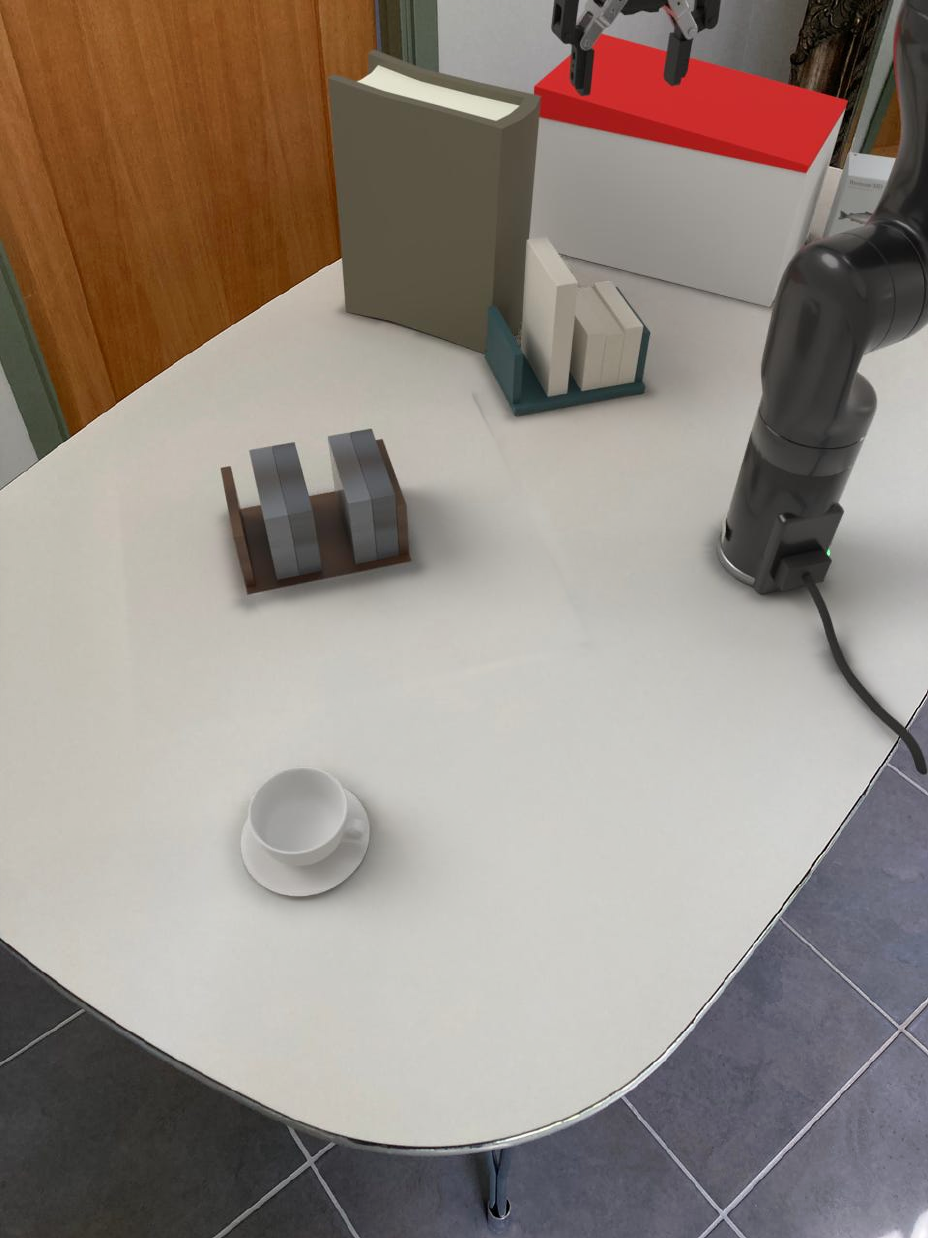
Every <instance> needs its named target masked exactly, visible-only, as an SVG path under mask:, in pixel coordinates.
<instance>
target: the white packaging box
mask: <svg viewBox="0 0 928 1238" xmlns="http://www.w3.org/2000/svg"><path fill="white" fill-rule="evenodd" d="M895 159H896V157H890V156H889V157H888V156H881V155H876V154H875V155H874V154H869V153H868V154H867V153H861V152H852V151H848V152H847V155H846V159H845V162H844V165H843V168H842V171H841V175H840V178H839V181H838V184H837V187H836V190H835V195H834V197H833V201H832V204H831V206H830V211H829V214H828V217H827V220H826V223H825V227H824V230H823V233H822V238H821V239H823V238H826V237H829V236H833V235H835V234H839V233H842V232H845V231H848V230H851V229H855V228H858V227H861V226H864V225H865V224H866V223H867V222H868V220H869V219H870V217H871V216H872V214H873V212H874V210H875V208H876V206H877V204H878V202H879V200H880V198H881V196H882V194H883V191H884V189H885V186H886V184H887V181H888V179H889V176H890V173H891V171H892V168H893V165H894V162H895Z"/></svg>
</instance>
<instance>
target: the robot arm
mask: <svg viewBox="0 0 928 1238" xmlns="http://www.w3.org/2000/svg"><path fill="white" fill-rule="evenodd" d="M579 3H580V0H553V8H552V17H551V23H550V24H551V25H550V29H551V32H552V33H553V34H554V35H555V36H556V37H557V38H558V39H559V40H560V42H561V43H563V44H564V45H570V46H571V49H570V50H571V51H570V55H571V62H570V74H569V78H570V82H571V84H572V85H573V86H574V87H575V90H576V91H577V92H578V93H579V94H580V95H581V96H587V95H590V93H591V83H592V73H593V62H594V52H595V50H594V49H593V48H592V46H593V45H594V43H595V42H596V40H597V39H598V38H599V36H600V35H601V34H603V32H604V31H605V30H606V29H607V28H609V27H610V26H611V25H612V24H613V23H614V21H615V20H616V19H617V17H618V16H619V15H620V13H621V14H622V15H623V16H632V15H635V14H638V13H640V12H646V13H650V14H651V13H659V12H660V9H663V10H664V11H665V13H666V15H667V17H668V19H669V21H670V23H671V25H672V27H673V32H669V35H668V41H667V48H666V51H667V54H666V61H665V68H664V80H665V81H666V82H667V83H668V84H669V85H670V86H677V85H680V83H681V78H684V77H685V75H686V73H687V71H688V66H689V58H691V54H692V46H693V41H694V38H695V37H696V36H697V35H698V34H699V33H700V32H702V31H704V30H706V29H707V30H713V29H715V28H716V27H717V25H718V23H719V17H720V9H721V3H722V0H694V2H693V3H694V4H693V10H692V11H691V10H690V9H691V8H690V5H689V4H688V3H689V2H688V1H687V0H586V2H585V4H584V10H583V11H582V13H581V15H580V16H579V18H578V12H579ZM895 19H896V20H895V23H894V30H893V36H892V37H893V38H892V39H893V40H892V53H893V54H892V58H893V69H894V71H893V73H894V80H895V88H896V94H897V95H896V96H897V100H898V106H899V107H898V108H899V116H900V135H899V136H900V137H899V143H898V149H897V153H896V156H895V158H896V159H895V162H894V165H893V168H892V171H891V173H890V176H889V179H888V181H887V184H886V186H885V189H884V191H883V194H882V196H881V198H880V200H879V202H878V204H877V206H876V208H875V210H874V212H873V214H872V216H871V217H870V219H869V220H868V222H867V223H866V224H865V225H864V226H861V227H858V228H855V229H851V230H848V231H845V232H842V233H839V234H835V235H833V236H829V237H826V238H823V239H822V238H820V239H817V240H815V241H811V242H810V243H808V244H805V245H803V247H802V248H801V249H800V250H799V251H798V252H797V253H796V254H795V255H794V256H793V258H792V259H791V260H790V262H789V263H788V265H787V267H786V269H785V271H784V273H783V275H782V278H781V280H780V283H779V286H778V290H777V293H776V297H775V298H774V300H773V306H772V311H771V316H770V319H769V325H768V330H767V334H766V339H765V343H764V347H763V352H762V356H761V363H760V382H761V396H760V399H759V400H760V401H759V403H758V407H757V410H756V414H755V418H754V421H753V425H752V427H751V431H750V433H749V436H748V437H749V438H748V440H747V444H746V447H745V448H746V449H745V451H744V454H743V455H744V456H743V459H742V461H741V465H740V468H739V472H738V475H737V479H736V482H735V486H734V490H733V493H732V497H731V500H730V503H729V507H728V510H725V511H724V514H723V518H722V522H721V523H722V524H721V525H722V526H721V527H722V530H721V533H720V535H719V537H718V542H717V547H716V549H717V550H716V552H717V556H718V559H719V560H720V563H721V565H722V566H723V567H724V568H725V570H726V571H727V572H728V573H729V574H731V576H733V577H734V578H735V579H737V580H739V581H741V582H743V583H744V584H746V585H749V586H751V587H752V588H754V590H755V592H756V593H757V594H759V595H763V594H767V593H773V592H777V591H781V592H783V591H784V592H785V591H787V590H792V589H797V588H801V587H805V586H806V588H807V590H808V592H809V594H810V596H811V598H812V600H813V603H814V604H815V607H816V609H817V612H818V614H819V617H820V619H821V623H822V627H823V630H824V633H825V636H826V640H827V642H828V645H829V648H830V651H831V654H832V656H833V659H834V661H835V663H836V665H837V668H838V669H839V671H840V673H841V674H842V676H843V678H844V679H845V681H846V682H847V683H848V685H849V686H850V687H851V688H852V690H853V691H854V692H855V693H856V695H857V696H858V697H859V698H860V699H861V700H862V701H863V702H864V703H865V705H866V706H867V707H868V708H869V710H870V711H871V712H872V713H873V714H874V715H875V716H876V717H877V718H878V719H879V720H880V721H881V722H882V723H884V724H885V725H886V726H887V727H888V728H889V729H891V730H892V731H893V732H894V733H895V734H896V735H897V736H898V737H899V738H900V739H901V740H902V741H903V743H904V744H905V745H906V747H907V749H908V750H909V752H910V755H911V757H912V759H913V762H914V766H915V769H916V772H918V774H920V775H923V776H926V775H927V774H928V767H927V762H926V759H925V756H924V754H923V753H924V752H923V751H922V749H921V747H920V744H919V743H918V741H917V740H916V738H915V737H914V736H913V735H912V733H910V732H909V730H908V729H907V728H906V727H905V726H904V725H902V724H901V722H899V721H898V720H897V719H896V718H894V716H892V715H891V714H890V713H889V712H888V711H887V710H885V708H884V707H882V706H881V704H879V702H878V701H877V700H876V699H875V698H874V697H873V695H872V694H871V693H870V692H869V691H868V689H867V688H866V687H865V686H864V685H863V684H862V682H860V681H859V679H858V678H857V676H856V675H855V673H854V672H853V670H852V669H851V667H850V665H849V664H848V662H847V660H846V658H845V656H844V654H843V651H842V648H841V646H840V643H839V640H838V637H837V635H836V631H835V627H834V624H833V620H832V617H831V615H830V611H829V609H828V606H827V605H826V602H825V600H824V597H823V596H822V594H821V592H820V589H819V588H818V586H817V584H819V583H823V582H824V580H825V578H826V576H827V574H828V571H829V569H830V566H831V564H832V562H833V561H832V558H831V557H830V554H831V551H830V547H831V545H832V542H833V540H834V538H835V535H836V534H837V533H836V532H837V530H838V528H839V525H840V523H841V521H842V518H843V517H844V514H845V509H844V507H842V505H841V503H840V501H841V498H842V496H843V494H844V491H845V489H846V486H847V483H848V481H849V479H850V476H851V474H852V471H853V469H854V466H855V464H856V461H857V459H858V457H859V454H860V452H861V449H862V447H863V444H864V442H865V439H866V437H867V434H868V432H869V431H870V428H871V425H872V422H873V420H874V418H875V415H876V412H877V409H878V396H877V393H876V390H875V388H874V386H873V385H872V384H871V382H870V381H869V380H868V379H867V378H866V377H865V376H864V375H863V374H861V373H859V372H858V370H859V366H860V364H861V362H862V359H863V358H864V356H866V355H868V354H871V353H873V352H876V351H880V350H882V349H885V348H888V347H890V346H893V345H895V344H898V343H900V342H903V341H904V340H908V339H909V338H911V337H913V336H914V335H917V333H918V332H920V331H921V330H922V329H923V328H925V327H926V326H927V325H928V0H901V2H900V5H899V8H898V11H897V14H896V18H895ZM907 731H908V732H907Z"/></svg>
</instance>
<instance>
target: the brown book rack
mask: <svg viewBox="0 0 928 1238" xmlns="http://www.w3.org/2000/svg"><path fill="white" fill-rule="evenodd" d="M327 442H328V451H329V458H330V466H331V473H332V480H333V487H334V488H333V489H334V491H329V492H323V493H318V494H312V495H309V491H308V487H307V484H306V480H305V476H304V472H303V468H302V464H301V460H300V457H299V453H298V450H297V446H296V442H295V441H292V442H287V443H281V444H275V445H272V446H270V445H269V446H264V447H257V448H253V449H252V448H251V449H249V450H248V452H249V457H250V462H251V466H252V471H253V475H254V480H255V484H256V489H257V494H258V498H259V504H258V505H253V506H249V507H244V508H243V507H242V508H241V503H240V499H239V495H238V491H237V487H236V482H235V478H234V473H233V469H232V466H231V465H228V466H222V467H220V474H221V478H222V485H223V490H224V494H225V501H226V506H227V507H226V508H227V510H228V518H229V524H230V528H231V533H232V534H231V535H232V539H233V542H234V543H233V544H234V548H235V551H236V554H237V559H238V563H239V567H240V569H241V574H242V578H243V582H244V586H245V590H246V591H245V592H246V595H253V594H257V593H262V592H263V593H264V592H267V591H273V590H277V589H282V588H287V587H292V586H297V585H302V584H306V583H310V582H312V583H313V582H317V581H323V580H327V579H331V578H336V577H343V576H346V575H352V574H356V573H362V572H366V571H372V570H375V569H381V568H385V567H386V568H387V567H390V566H395V565H400V564H406V563H411V562H412V561H413V560H412V558H411V554H410V541H409V523H408V508H407V507H408V506H407V502H406V500H405V497H404V493H403V491H402V489H401V486H400V482H399V480H398V478H397V475H396V472H395V470H394V466H393V464H392V461H391V457H390V455H389V452H388V450H387V447H386V444H385V441H384V439H383V438H379V439H376V437H375V433H374V431H373V428H366V429H361V430H355V431H350V432H344V433H339V434H331V435H328V436H327Z"/></svg>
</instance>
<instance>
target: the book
mask: <svg viewBox="0 0 928 1238" xmlns="http://www.w3.org/2000/svg"><path fill="white" fill-rule="evenodd" d="M367 63H368V64H367V65H368V66H367V67H368V74H367V75H366V76H364V77H363V78H362V79H359V80H353V79H350V78H348V77H344V76H342V75H339V74H337V73H334V74H332V75H331V76H329V77H328V78H327V82H328V84H327V85H328V95H329V109H330V121H331V133H332V134H331V135H332V137H331V138H332V148H333V150H332V151H333V161H334V175H335V188H336V201H337V213H338V214H337V215H338V226H339V238H340V254H341V265H342V267H341V268H342V278H343V292H344V305H345V313H348V314H349V313H350V314H354V315H359V316H364V317H369V318H375V319H379V320H385V321H389V322H392V323H394V324H398V325H402V326H404V327H407V328H410V329H413V330H416V331H419V332H422V333H425V334H428V335H431V336H434V337H437V338H440V339H443V340H446V341H449V342H450V343H454V344H457V345H459V346H462V347H465V348H467V349H470V350H473V351H476V352H478V353H481V354H483V355H485V351H486V350H487V338H488V307H490V306H497V308H498V310H499V312H500V313H501V315H502V317H503V319H504V320H505V322H506V324H507V326H508V328H509V329H510V331H511V333H512V335H513V336H514V337H515V336H516V335H517V333H518V332H519V330H520V326H521V325H522V315H523V297H524V278H525V260H526V242H527V240H528V239H529V234H530V222H531V210H532V198H533V186H534V174H535V162H536V150H537V139H538V127H539V115H540V103H541V96H539V95H535V94H534V93H530V92H525V91H520V90H516V89H510V88H507V87H502V86H497V85H494V84H490V83H485V82H479V81H475V80H471V79H468V78H463V77H460V76H455V75H451V74H447V73H443V72H439V71H436V70H435V71H434V70H431V69H426V68H422V67H420V66H417V65H416V64H412V63H410V62H407V61H405V60H402V59H400V58H397V57H394V56H393V55H390V54H387V53H384V52H382V51H380V50H377V49H372V50H371V51H369V52H367Z"/></svg>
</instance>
